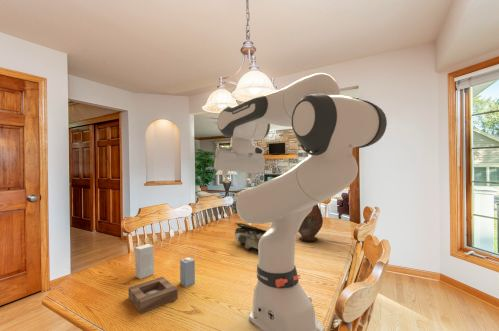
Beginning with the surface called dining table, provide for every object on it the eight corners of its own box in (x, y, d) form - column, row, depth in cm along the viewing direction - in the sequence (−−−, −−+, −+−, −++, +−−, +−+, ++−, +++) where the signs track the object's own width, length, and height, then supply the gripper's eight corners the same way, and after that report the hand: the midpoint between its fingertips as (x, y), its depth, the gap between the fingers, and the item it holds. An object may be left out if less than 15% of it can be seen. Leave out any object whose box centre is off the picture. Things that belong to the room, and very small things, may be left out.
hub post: (194, 283, 95) (194, 259, 95) (185, 286, 92) (185, 262, 92) (189, 279, 98) (189, 256, 98) (180, 283, 95) (180, 259, 95)
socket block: (177, 298, 84) (177, 288, 84) (140, 313, 76) (140, 302, 76) (162, 285, 93) (162, 276, 93) (128, 297, 85) (128, 287, 85)
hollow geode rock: (236, 249, 145) (221, 234, 139) (248, 231, 151) (234, 215, 145) (270, 262, 124) (254, 245, 117) (282, 240, 130) (268, 223, 123)
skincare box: (148, 271, 106) (148, 243, 105) (154, 274, 103) (153, 245, 103) (134, 276, 101) (134, 247, 101) (139, 279, 98) (139, 249, 98)
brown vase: (328, 240, 146) (328, 189, 146) (305, 248, 133) (305, 192, 133) (306, 233, 159) (306, 187, 159) (282, 240, 146) (282, 189, 146)
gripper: (218, 145, 90) (214, 183, 90) (268, 150, 98) (264, 185, 98) (213, 145, 95) (210, 181, 96) (261, 150, 104) (257, 183, 104)
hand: (238, 183), depth 97 cm, fingers open, 8 cm apart
